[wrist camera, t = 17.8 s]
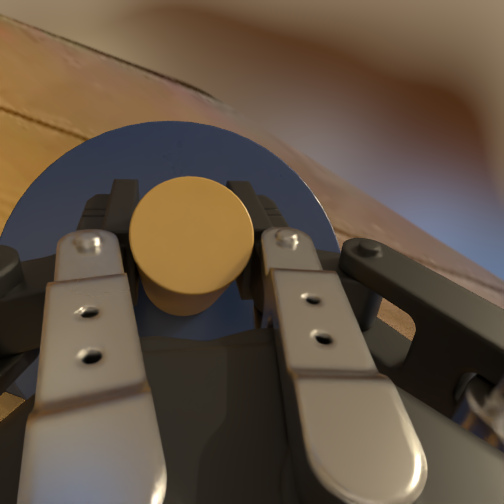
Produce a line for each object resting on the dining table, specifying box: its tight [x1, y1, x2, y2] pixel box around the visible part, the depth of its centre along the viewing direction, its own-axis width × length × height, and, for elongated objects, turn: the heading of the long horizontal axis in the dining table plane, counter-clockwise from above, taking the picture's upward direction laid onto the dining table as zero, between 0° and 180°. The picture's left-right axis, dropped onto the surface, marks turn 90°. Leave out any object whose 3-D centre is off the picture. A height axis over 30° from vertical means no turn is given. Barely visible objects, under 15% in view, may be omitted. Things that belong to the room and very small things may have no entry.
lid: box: [0, 121, 341, 400], centre depth 12 cm, size 12×12×6 cm
